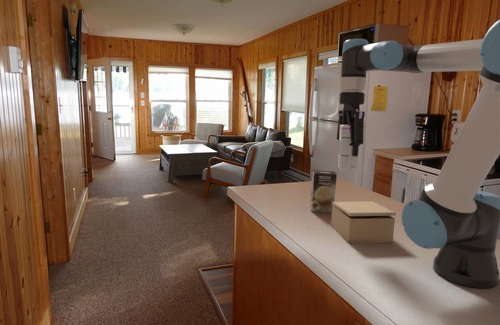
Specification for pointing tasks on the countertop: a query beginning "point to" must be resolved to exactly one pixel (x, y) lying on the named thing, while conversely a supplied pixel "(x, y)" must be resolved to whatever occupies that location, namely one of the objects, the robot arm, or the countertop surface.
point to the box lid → (363, 209)
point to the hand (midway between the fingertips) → (347, 164)
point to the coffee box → (323, 191)
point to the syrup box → (344, 149)
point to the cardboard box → (362, 227)
